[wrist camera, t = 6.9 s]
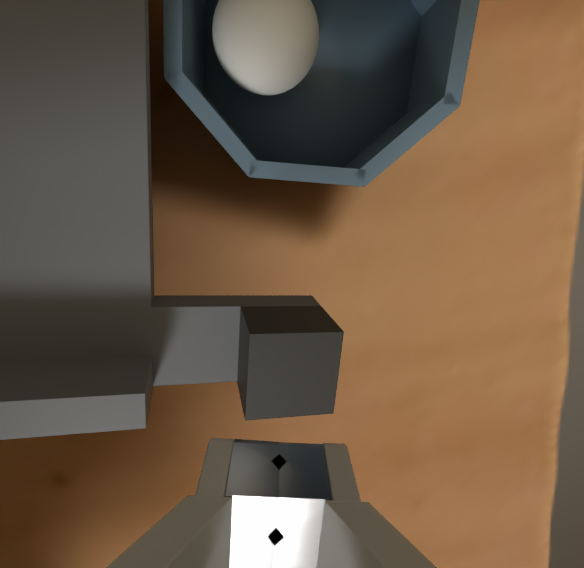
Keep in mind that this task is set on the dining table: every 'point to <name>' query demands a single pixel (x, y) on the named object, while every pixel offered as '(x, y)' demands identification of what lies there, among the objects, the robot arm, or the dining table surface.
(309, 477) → the robot arm
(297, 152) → the cup
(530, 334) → the dining table surface
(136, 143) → the lever board
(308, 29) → the ball
